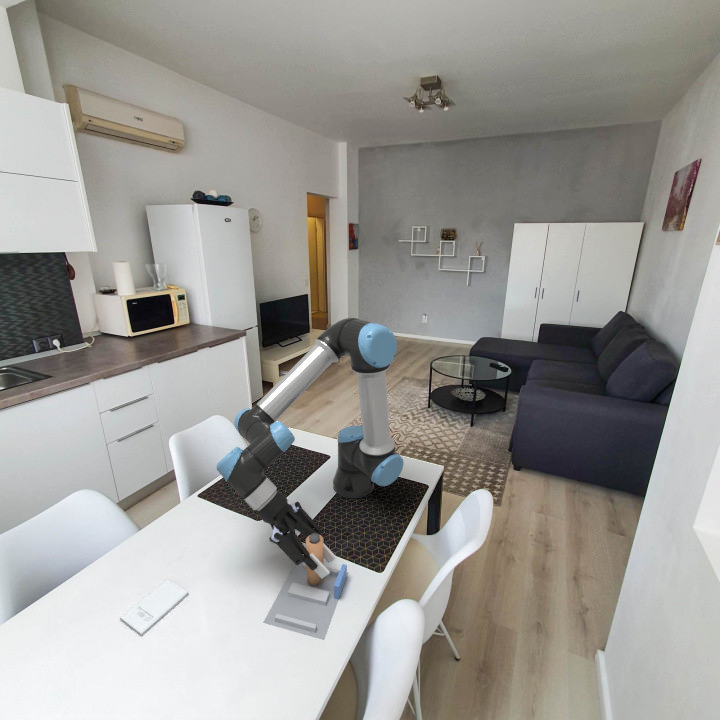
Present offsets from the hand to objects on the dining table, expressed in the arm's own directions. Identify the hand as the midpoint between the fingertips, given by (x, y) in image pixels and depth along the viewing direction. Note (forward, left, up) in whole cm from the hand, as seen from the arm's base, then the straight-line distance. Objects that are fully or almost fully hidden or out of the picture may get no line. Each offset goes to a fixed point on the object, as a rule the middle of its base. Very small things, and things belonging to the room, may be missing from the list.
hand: (328, 567), depth 97 cm
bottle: (+3, -3, -5) cm, 6 cm away
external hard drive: (+39, -16, -8) cm, 43 cm away
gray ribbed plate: (+6, +1, -7) cm, 9 cm away
